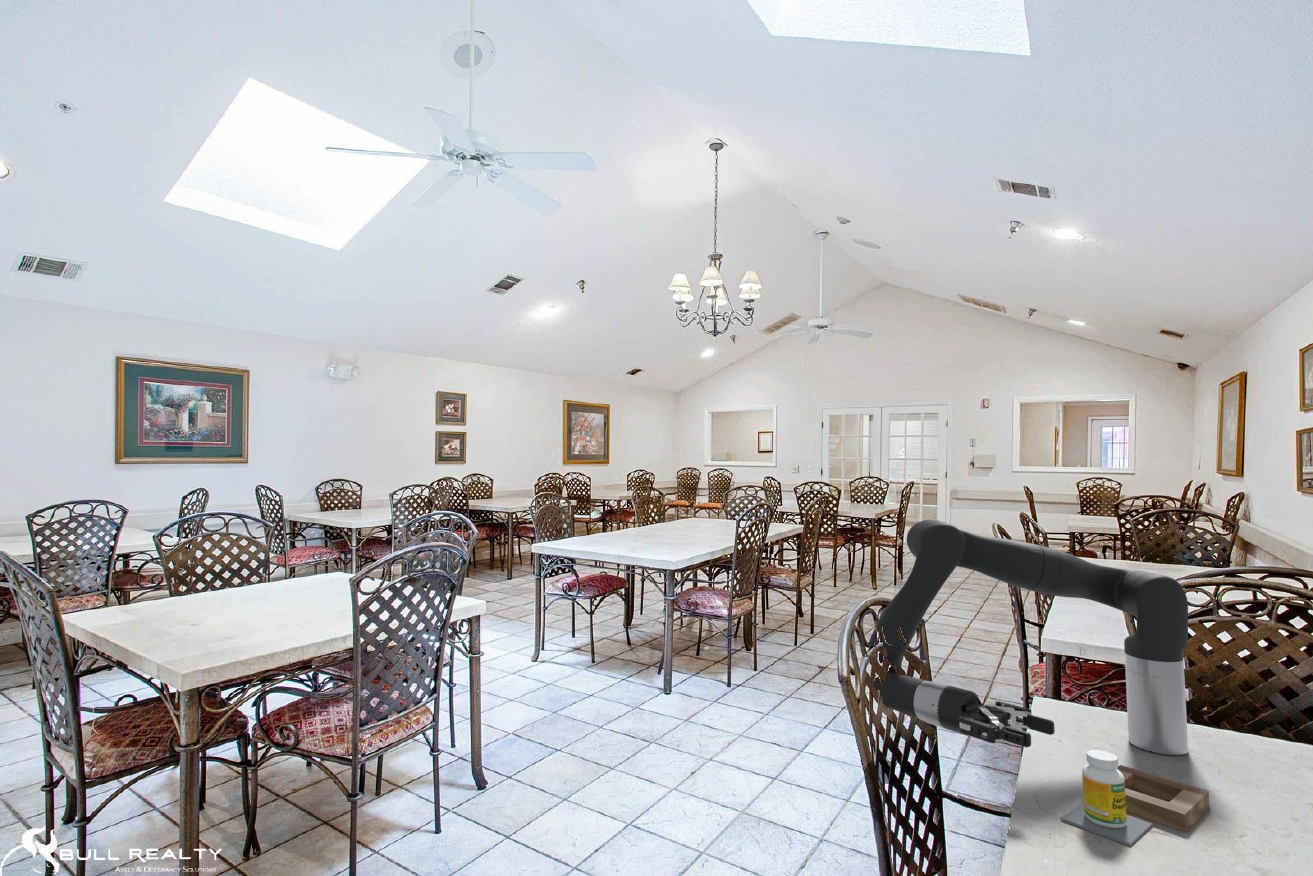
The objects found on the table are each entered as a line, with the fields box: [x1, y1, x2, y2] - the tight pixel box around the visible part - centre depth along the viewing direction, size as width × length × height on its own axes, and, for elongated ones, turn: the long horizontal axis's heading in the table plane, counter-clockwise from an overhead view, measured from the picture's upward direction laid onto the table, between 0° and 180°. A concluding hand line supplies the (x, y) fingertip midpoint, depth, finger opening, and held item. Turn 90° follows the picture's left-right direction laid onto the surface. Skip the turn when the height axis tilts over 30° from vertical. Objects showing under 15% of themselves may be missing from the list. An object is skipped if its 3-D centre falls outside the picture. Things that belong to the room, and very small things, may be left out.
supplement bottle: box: [1081, 749, 1127, 828], centre depth 99 cm, size 5×5×10 cm
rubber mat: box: [1060, 800, 1153, 848], centre depth 99 cm, size 9×9×1 cm
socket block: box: [1117, 764, 1211, 833], centre depth 105 cm, size 12×12×2 cm
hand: (1042, 734), depth 106 cm, fingers open, 8 cm apart
